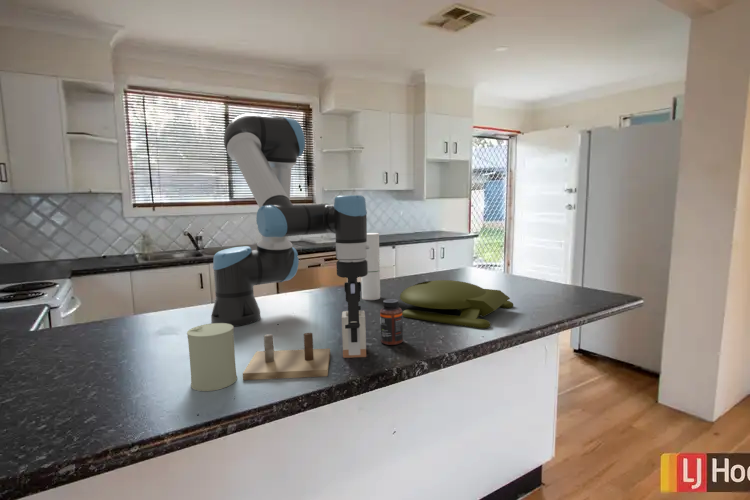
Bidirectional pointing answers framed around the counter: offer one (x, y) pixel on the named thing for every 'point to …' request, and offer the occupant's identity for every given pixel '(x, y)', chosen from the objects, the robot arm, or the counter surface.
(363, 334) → the sleeve
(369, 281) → the cylindrical container
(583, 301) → the counter surface
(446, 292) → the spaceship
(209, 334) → the can
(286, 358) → the pin board
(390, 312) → the supplement bottle
